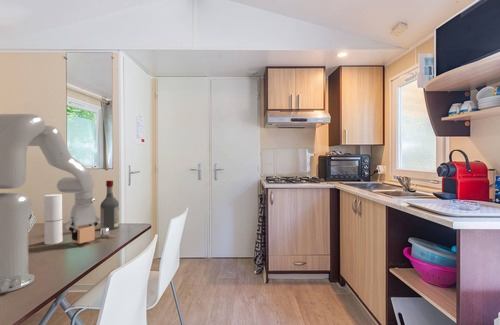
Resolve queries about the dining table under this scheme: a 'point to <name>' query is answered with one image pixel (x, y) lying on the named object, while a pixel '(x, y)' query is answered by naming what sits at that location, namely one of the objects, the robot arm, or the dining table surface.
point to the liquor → (109, 209)
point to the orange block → (85, 234)
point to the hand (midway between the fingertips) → (83, 237)
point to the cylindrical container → (53, 218)
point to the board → (93, 241)
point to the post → (104, 232)
